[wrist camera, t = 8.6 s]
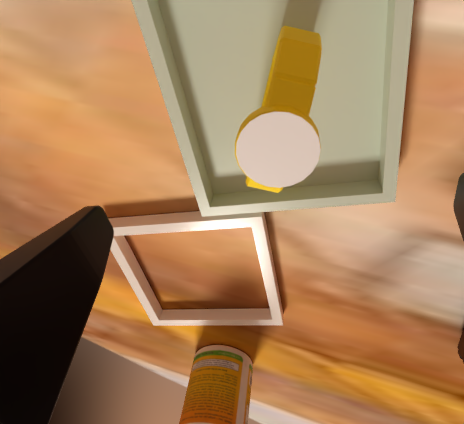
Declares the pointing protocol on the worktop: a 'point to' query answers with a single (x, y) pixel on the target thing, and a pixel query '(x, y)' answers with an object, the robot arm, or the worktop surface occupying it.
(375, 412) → the worktop surface
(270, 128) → the watch
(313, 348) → the worktop surface
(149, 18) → the tray
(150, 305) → the white square frame
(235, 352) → the supplement bottle
